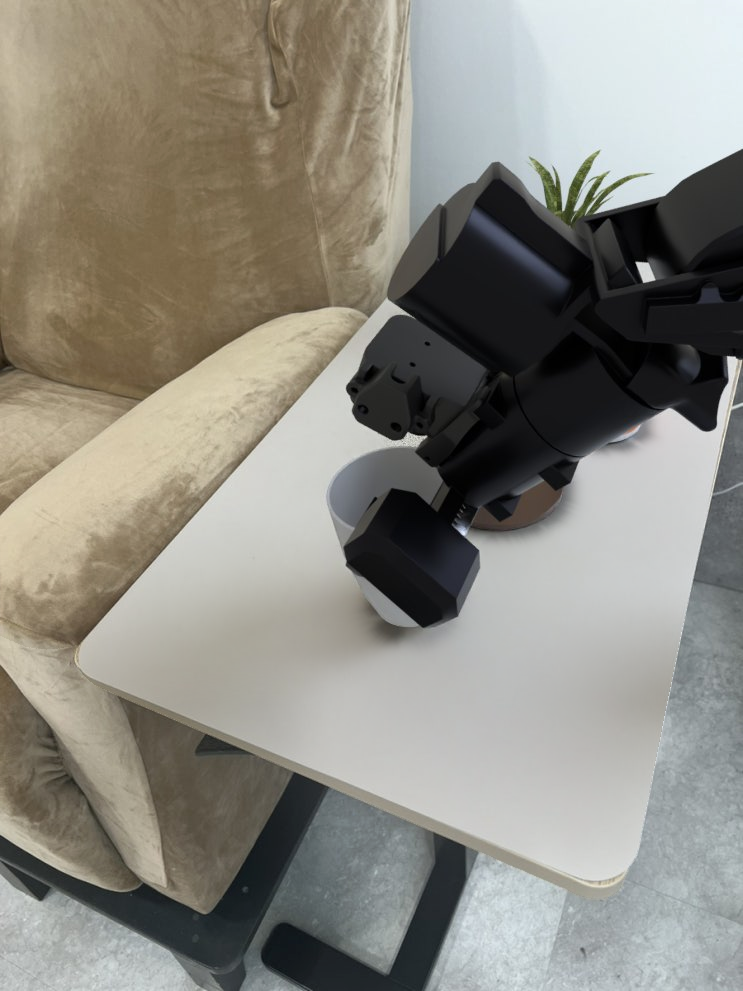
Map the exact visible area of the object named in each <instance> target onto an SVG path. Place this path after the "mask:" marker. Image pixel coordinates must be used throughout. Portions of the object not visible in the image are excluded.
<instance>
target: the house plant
mask: <svg viewBox="0 0 743 991" xmlns="http://www.w3.org/2000/svg"><path fill="white" fill-rule="evenodd" d="M601 151H602V149H599V150H597V151H595V152H593V153H592V154H590V155H589V156H588V157H587V158H586V159H585V160H584V161H583V163H582V164H581V165H580V167H579V169H578V170H577V172H576V174H575V175H574V176H573V179H572V181H571V183H570V186H569V188H568V193H567V199H566V203H565V207H564V210H563V196H562V188H561V186H562V185H561V181H560V176H559V174H558V171H557V169H556V168H555V167H554V165H551V167H552V170H553V173H554V177H555V181H554V178H553V176H552V174H551V172H550V171H549V170H548V169H547V168H546V167H545V166H544V165H543V164H541V163H540V162H539V161H538V160H536V158H533V157H531V156H528V158H529V160H530V162H531V163H529V162H528V161H527V160H525V159H524V161H525V162H526V163H527V164H528V165H529V166H530V167H531V168H532V169H533V170H535V172H536V173H537V174H538V175H539V177H540V179H541V180H540V181H541V183H542V187H543V194H544V199H545V204H546V205H545V206H546V208H547V209H549V210H550V211H551V212H552V213H554V214H555V215H556V216H557V217H558V218H560V219H561V220H562V221H563V222H564V223H566V224H567V225H568V226H569V227H570V228H572V229H573V224H574V222H575V220H577V219H578V218H580V217H584V216H588V215H592V214H596V213H597V211H598V210H599V209H600V208H601V207H602V206H603V204H605V203H607V202H608V201H609V200H611V199H612V198H613V197H614V195H612V196H610V197H608V196H609V195H610V194H611V193H612V192H613V191H615V190H616V189H618V188H619V187H621V186H622V185H624V184H625V183H627V182H629V181H631V180H633V179H635V178H636V179H637V178H641V177H646V176H650V175H654V174H655V173H653V172H647V173H645V172H644V173H643V172H642V173H635V174H631V175H627V176H624V177H622V178H620V179H618V180H616V181H615V182H613V183H611V184H610V185H608V186H607V187H605V188H603V189H601V190H600V191H599V192H598V193H597V191H598V189H599V188H600V186H601V185H602V183H603V181H604V179H605V178H608V176H607V175H609V174H610V172H611V170H608V171H605V172H603V173H602V174H601V175H595V176H593V177H592V178H590V179H589V180H588V181H587V182H586V184H585V185H584V186H583V184H584V182H585V180H586V178H587V176H588V174H589V172H590V171H591V169H592V166H593V164H594V161H595V159H596V158H597V157H598V155H600V153H601ZM532 164H533V165H532ZM593 180H595V181H593ZM591 181H593V183H592V185H591V186H590V188H589V190H588V191H587V194H586V196H585V198H584V200H583V201H582V204H581V205H580V206H579V208H578V209H577V210H575V208H576V205H577V203H578V201H579V199H580V197H581V194H582V192H583V190H584V188H585V187H586V186H587V185H588V184H589V183H590V182H591ZM582 187H583V188H582ZM595 194H596V195H595ZM606 197H608V198H607V199H606ZM604 199H605V200H604ZM592 203H593V204H592ZM590 206H591V207H590ZM589 207H590V208H589ZM588 208H589V210H588ZM587 210H588V211H587Z"/></svg>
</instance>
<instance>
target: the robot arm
mask: <svg viewBox="0 0 743 991" xmlns="http://www.w3.org/2000/svg"><path fill="white" fill-rule="evenodd" d="M637 263H642V264H643V263H644V264H648V265H649V267H650V270H651V273H652V275H653V277H654V280H650V281H645V282H644V281H643V277H642V275H641V272H640V270H639V267H638V265H637ZM386 290H387V291H386V298H387V300H388V301H389V302H391V303H392V304H393V305H395V306H396V307H398V308H399V309H400V310H402V311H404V312H405V313H406V314H395V315H392V316H391V317H389V318H388V319H387V320H386V322H385V323H384V325H383V326H382V327H381V328H380V329H379V331H378V332H377V333H376V334H375V336H374V337H373V338H372V339H371V340H370V342H369V343H368V344H367V346H365V349H364V352H363V355H362V357H361V361H360V363H359V366H358V369H357V371H356V372H355V373H354V375H353V376H352V378H351V379H350V380H349V381H348V383H347V384H346V385H345V391H346V394H347V395H348V396H349V399H350V401H351V403H352V404H353V405H352V408H351V414H352V415H353V418H354V419H355V421H356V422H357V423H358V424H361V425H363V426H364V427H367V428H368V429H370V430H372V431H373V432H375V433H377V434H379V435H381V436H383V437H385V438H386V439H388V440H391V441H392V442H396V441H402V440H404V439H405V437H406V436H407V434H408V433H409V434H411V435H414V436H417V437H424V439H422V440H421V441H420V442H419V444H418V445H417V446H416V447H417V449H416V451H415V453H416V454H417V455H418V456H419V457H420V458H421V459H422V460H424V461H425V462H426V463H427V464H428V465H429V466H430V467H436V468H437V471H438V473H439V475H440V477H441V478H442V480H443V482H442V483H441V485H440V487H439V489H438V491H437V492H436V494H435V496H434V498H433V500H432V501H431V503H430V505H429V504H428V503H427V502H426V501H425V500H424V499H423V498H421V497H420V496H419V495H418V494H417V493H416V492H411V491H406V490H401V489H396V488H391V489H389V490H388V491H387V492H385V493H384V494H382V495H381V496H380V497H379V498H377V497H374V498H373V500H372V502H371V503H370V505H369V506H368V508H367V509H366V511H365V513H364V514H363V516H362V517H361V519H360V520H359V522H358V524H357V525H356V527H355V529H354V531H353V532H352V534H351V535H350V537H349V539H348V540H347V542H346V543H345V545H344V546H343V549H344V553H345V557H346V559H345V567H346V568H347V569H348V570H349V571H351V573H352V572H353V573H354V574H355V575H357V576H360V577H364V578H365V579H366V580H367V581H369V582H370V583H371V584H372V585H373V586H374V587H376V588H377V589H378V590H379V591H380V592H381V593H382V594H384V595H385V596H386V597H387V598H388V599H389V600H391V601H392V602H393V603H394V604H395V605H396V606H397V607H399V608H400V609H401V610H402V611H403V612H404V613H405V614H407V615H408V616H409V617H410V618H411V619H412V620H414V621H415V622H416V623H417V624H418V625H419V626H418V627H420V628H422V629H431V628H437V627H438V626H440V625H442V624H445V623H447V622H450V621H452V620H454V619H455V618H459V616H460V613H461V612H462V609H463V607H464V605H465V602H466V601H467V599H468V596H469V594H470V592H471V589H472V588H473V585H474V583H475V581H476V578H477V577H478V573H479V572H480V570H481V556H480V549H478V548H477V546H475V545H474V544H473V543H472V542H471V541H470V540H469V539H468V538H466V536H467V534H468V532H469V530H470V529H471V527H472V526H471V524H472V522H473V520H474V518H475V516H476V514H477V512H478V510H479V508H480V507H481V506H483V507H484V508H485V509H486V510H487V511H488V512H489V513H490V514H491V515H492V516H493V517H494V518H496V519H497V520H498V521H499V522H501V521H503V520H505V519H507V518H509V517H510V516H512V515H513V513H514V511H515V509H516V507H517V504H518V502H519V500H520V498H521V495H522V493H523V492H525V491H527V490H529V489H530V488H532V487H534V486H536V485H537V484H539V483H541V482H542V481H546V482H547V483H548V484H549V485H550V486H551V487H552V488H553V489H554V490H555V491H557V490H559V489H561V488H562V487H563V488H564V487H566V486H567V485H570V484H571V483H572V481H573V478H574V475H575V473H576V471H577V468H578V465H579V463H580V460H582V459H583V458H585V457H587V456H589V455H591V454H592V453H594V452H595V451H597V450H600V449H601V448H603V447H604V446H606V445H607V444H610V443H612V442H611V441H613V440H615V439H616V438H618V437H620V436H621V435H623V434H625V433H627V432H628V431H630V430H632V429H634V428H635V427H637V426H639V425H640V424H641V425H643V424H644V423H645V422H647V421H649V420H651V419H653V418H655V417H656V416H658V415H660V414H662V413H663V412H664V411H666V410H668V409H671V410H673V411H675V412H676V413H677V414H679V415H680V416H681V417H683V418H684V419H685V420H687V421H688V422H689V423H690V424H692V425H693V426H694V427H696V428H697V429H698V430H700V431H701V432H705V433H709V432H713V431H714V430H715V429H716V428H717V427H718V413H719V407H720V402H721V399H722V395H723V394H724V390H725V389H726V387H727V386H728V384H729V381H730V379H729V364H728V362H729V361H728V357H730V358H734V357H735V359H737V361H738V360H739V361H743V148H741V149H739V150H737V151H735V152H733V153H731V154H729V155H727V156H725V157H722V158H721V159H720V160H717V161H715V162H713V163H711V164H710V165H707V166H705V167H703V168H701V169H700V170H697V171H695V172H693V173H692V174H690V175H689V176H687V177H685V178H684V179H682V180H680V182H678V183H677V184H676V185H675V186H674V187H673V188H671V190H669V191H668V192H667V193H666V194H665V195H663V196H658V197H655V198H651V199H646V200H642V201H639V202H635V203H631V204H626V205H624V206H623V205H622V206H619V207H615V208H611V209H607V210H603V211H600V212H595V213H594V214H592V215H588V216H584V217H580V218H578V219H577V220H575V222H574V224H573V229H572V228H570V227H569V226H568V225H567V224H566V223H564V222H563V221H562V220H561V219H560V218H558V217H557V216H556V215H555V214H554V213H552V212H551V211H550V210H549V209H547V206H546V205H545V204H542V202H540V200H538V199H536V197H535V196H534V195H533V194H532V193H530V191H529V189H528V188H527V187H526V185H525V184H524V182H523V181H522V180H521V179H520V178H519V177H518V176H517V175H516V174H515V173H514V172H512V171H511V169H509V168H508V167H507V166H505V165H504V164H503V163H501V162H500V161H493V162H491V163H490V164H489V165H488V166H487V168H486V169H485V170H484V172H482V174H481V175H480V176H479V178H478V179H477V180H476V181H475V182H470V183H467V184H466V185H464V186H463V187H460V189H459V190H457V191H456V192H455V193H454V194H452V196H451V197H450V198H448V200H446V202H445V203H444V204H441V203H438V204H437V205H436V206H435V207H434V208H433V209H432V211H431V212H430V213H429V215H427V218H426V219H425V220H424V221H423V223H422V224H421V226H419V228H418V230H417V231H416V232H415V234H414V236H413V237H412V239H411V240H410V241H409V243H408V245H407V247H406V248H405V250H404V252H403V253H402V254H401V257H400V259H399V261H398V263H397V265H396V266H395V269H394V270H393V272H392V275H391V278H390V280H389V284H388V287H387V289H386ZM345 557H344V558H345ZM353 573H352V574H353Z"/></svg>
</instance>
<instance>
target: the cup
mask: <svg viewBox="0 0 743 991" xmlns="http://www.w3.org/2000/svg"><path fill="white" fill-rule="evenodd" d="M417 447H418V446H411V445H410V446H409V445H396V446H387V447H382V448H378V449H377V448H376V449H374V450H370V451H368V452H365V453H363V454H360V455H359V456H356V457H354V458H353V459H351V460H349V461H348V462H347V463H345V464H344V465H343V466H341V467H340V469H338V470H337V472H336V473H335V474H334V475H333V476H332V478H331V480H330V481H329V483H328V485H327V489H326V494H325V498H326V500H325V501H326V506H327V509H328V512H329V514H330V518H331V521H332V525H333V527H334V530H335V533H336V536H337V540H338V542H339V546H340V549H341V551H342V555H343V557H344V560H346V557H345V553H344V549H343V546H344V545H345V543H346V542H347V540H348V539H349V537H350V535H351V534H352V532H353V531H354V529H355V527H356V525H357V524H358V522H359V520H360V519H361V517H362V516H363V514H364V513H365V511H366V509H367V508H368V506H369V505H370V503H371V502H372V500H373V498H374V497H377V498H379V497H380V496H381V495H382V494H384V493H385V492H387V491H388V490H389V489H391V488H396V489H401V490H406V491H411V492H416V493H417V494H418V495H419V496H420V497H421V498H423V499H424V500H425V501H426V502H427V503H428V504H429V505H430V503H431V501H432V500H433V498H434V496H435V494H436V492H437V491H438V489H439V487H440V485H441V483H442V482H443V480H442V478H441V477H440V475H439V473H438V471H437V468H436V467H430V466H429V465H428V464H427V463H426V462H425V461H424V460H422V459H421V458H420V457H419V456H418V455H417V454H416V453H415V451H416V449H417ZM351 573H352V575H353V577H354V579H355V581H356V583H357V585H358V587H359V589H360V592H361V593H362V595H363V596H364V597H365V598H366V600H367V601H368V602H369V604H370V605H371V606H372V608H373V609H374V610H375V611H376V612H377V614H378V615H379V616H380V617H381V618H382V620H384V622H387V623H389V624H391V625H393V626H397V627H401V628H413V627H415V628H416V627H420V626H419V625H418V624H417V623H416V622H415V621H414V620H412V619H411V618H410V617H409V616H408V615H407V614H405V613H404V612H403V611H402V610H401V609H400V608H399V607H397V606H396V605H395V604H394V603H393V602H392V601H391V600H389V599H388V598H387V597H386V596H385V595H384V594H382V593H381V592H380V591H379V590H378V589H377V588H376V587H374V586H373V585H372V584H371V583H370V582H369V581H367V580H366V579H365V578H364V577H360V576H357V575H355V574H354V573H353V572H352V571H351Z"/></svg>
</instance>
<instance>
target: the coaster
mask: <svg viewBox="0 0 743 991" xmlns="http://www.w3.org/2000/svg"><path fill="white" fill-rule="evenodd" d="M563 493H564V487H562V488H561V489H559V490H557V491H555V490H554V489H553V488H552V487H551V486H550V485H549V484H548V483H547V482H546V481H542V482H541V483H539V484H537V485H536V486H534V487H532V488H530V489H529V490H527V491H525V492H523V493H522V495H521V498H520V500H519V502H518V504H517V507H516V509H515V511H514V513H513V515H512V516H510V517H509V518H507V519H505V520H503V521H501V522H499V521H498V520H497V519H496V518H494V517H493V516H492V515H491V514H490V513H489V512H488V511H487V510H486V509H485V508H484V507H483V506H481V507H480V508H479V510H478V512H477V514H476V516H475V518H474V520H473V522H472V524H471V526H470V527H474V528H478V529H482V530H488V531H509V530H510V531H511V530H515V529H517V530H518V529H521V528H525V527H528V526H531V525H534V524H536V523H538V522H540V521H543V519H545V518H547V517H548V516H549V515H551V513H553V512H554V510H556V508H558V505H559V504H560V502H561V500H562V498H563V495H564V494H563Z"/></svg>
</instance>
